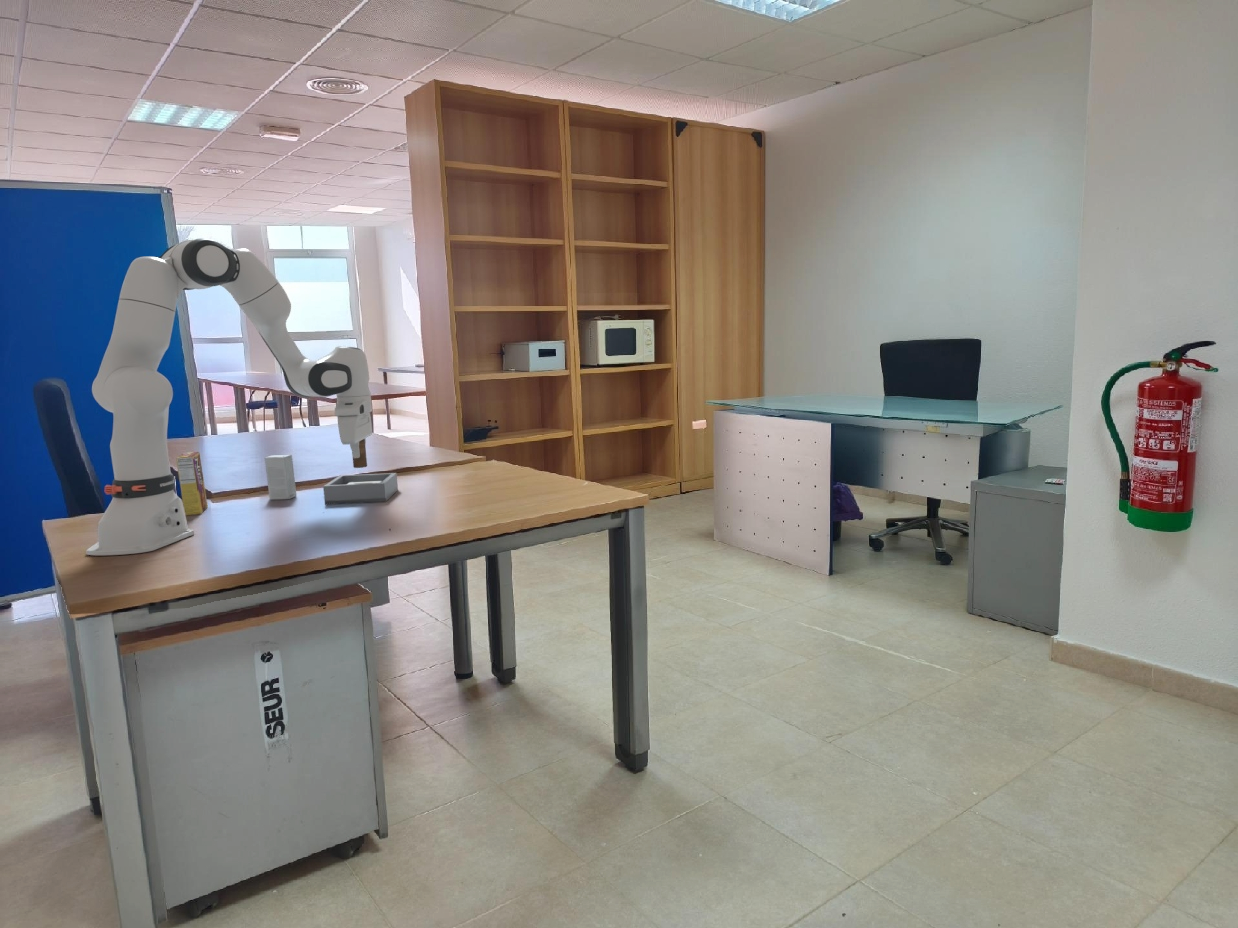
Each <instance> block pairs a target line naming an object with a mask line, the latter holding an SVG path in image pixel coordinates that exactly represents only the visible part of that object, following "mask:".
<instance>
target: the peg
mask: <svg viewBox="0 0 1238 928" xmlns="http://www.w3.org/2000/svg"><path fill="white" fill-rule="evenodd" d="M359 450H360V452H361V456H360V457H359V458H353V453H352V452H351V453H352V454H351V455H352V466H353V468H354V469H359V468H361V469H362V468H363V469H364V468H367V467H368V462H367V461H368V460H367V459H368V458H367V450H366V444H365V439H363V440H361V441H359Z"/></svg>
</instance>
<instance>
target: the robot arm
mask: <svg viewBox="0 0 1238 928" xmlns="http://www.w3.org/2000/svg"><path fill="white" fill-rule="evenodd" d="M217 286H219V287H222V288H224V289H225V290H226V291H227V292H228V293H229V294H230V295H231V296H232V298H233V299H234V301H235V302H236V303H237V305H238V307H239V308H240V309H241V310H242V311H243V313H244V314H245V316H246V317H247V318H248V319H249V320H250V322H251V323H252V325H253V326H254V327H255V329H256V330H257V332H258V333H259V335H260V337H261V339H262V340H263V341H264V343H265V345H266V346H267V348H268V349H269V351H270V353H271V354H272V355H273V357H274V358H275V360H276V362H277V363H278V365H279V366H280V368H281V371H282V374H283V378H284V381H285V385H286V387H287V388H288V390H289V391H290V392H291V393H292V394H293V395H295V396H297V397H300V398H311V397H314V398H328V397H332V396H335V395H336V406H335V407H334V416H335V417H337V426H338V433H339V439H340V443H341V444H342V445H349V447H350V450H351V453H353V456H352V459H353V458H359V457H360V456H361V452H360V450H359V441H361V440H363V439H365V445H366V443H367V442H366V441H367V440H366V438H369V437H370V436H372V435H373V424H372V417H371V412H373V406H372V405H373V404H372V395H371V391H370V388H369V384H370V383H369V381H370V372H369V365H368V360H367V357H366V354H365V351H364V350H363V349H361V348H358V347H355V346H346V345H343V346H341V345H338V346H336V347H335V348H334V349H333V350H332V351H331V352H329V353H328V354H327V355H325V356H323V357H320V358H319V359H317V360H316V359H315V360H312V359H310V358H308V357H306V356H305V355H303V353H302V352H301V350H300V348H299V347H298V345H297V344H296V342H295V340H294V339H293V337H292V336H291V335H290V333H289V332H288V329H287V320H288V318H289V316H290V314H291V312H292V303H291V301H290V299H289V297H288V294H287V292H286V290H285V289H284V287H283V286H282V284H281V283H280V281H278V279H277V278H276V276H275V275H274V273H273V272H272V271H271V270H270V269H269V267H267V265H266V264H265V263H264V262H263V261H262V260H261V258H260V257H258V256H257V255H256V254H255V253H254V252H253V251H252V250H250V249H248V248H236V249H235V248H234V249H230V248H228V247H226V246H225V245H223V244H222V243H220V242H218V241H216V240H213V239H210V238H196V239H187V240H184V241H183V240H182V241H181V242H179V243H177V244H174V245H172V246H170V247H168V248H166V250H165V251H164V252H163V253H162V254H161V255H160V256H159V257H156V256H150V255H149V256H140V257H136V258H135V259H134V260H132V262H131V263H130V265H129V266H128V269H127V271H126V274H125V277H124V280H123V283H122V286H121V289H120V292H119V297H118V303H117V306H116V313H115V318H114V324H113V329H112V332H111V336H110V340H109V342H108V345H107V347H106V350H105V353H104V354H103V358H102V360H101V364H100V365H99V370H98V372H97V375H96V377H95V378H94V380H93V382H92V386H91V393H92V396H93V398H94V400H95V401H96V403H98V405H99V406H100V407H101V408H103V409H104V410H105V411H107V412H110V413H112V415H113V420H112V421H113V423H112V435H111V440H110V444H109V449H110V456H111V457H110V458H111V464H112V470H113V477H114V479H113V480H112V485H110V484H106V485H105V486H104V493H105V495H111V497H112V499H111V501H110V503H109V505H108V507H107V508H106V509H105V511H104V513H103V515H102V516H101V518H100V520H98V521H99V522H98V523H97V530H96V531H97V533H96V534H97V542H95V544H93V545H92V546H90V547H89V548H87V549H86V550H85V551H86V554H85V555H87V556H89V555H90V556H119V555H130V554H131V555H132V554H141V553H148V552H153V551H156V550H158V549H161V548H163V547H166V546H168V545H170V544H173V543H176V542H178V541H181V540H184V539H185V538H186V539H187V538H188V537H190V536H193V535H195V531H194V528H193V529H192V528H189V526H188V521H187V517H186V516H187V515H185V511H184V507H183V501H182V498H180V497H179V496H178V494H176V492H175V489H176V485H175V484H176V483H175V482H176V481H175V477H174V474H173V473H172V472H171V464H170V457H169V448H168V426H169V425H168V424H169V411H170V409H169V408H170V404H171V403H172V400H173V397H174V391H173V387H172V383H171V382H170V381H169V380H168V378H167V377H166V376H165V375H163V374H162V373H160V372H159V371H158V368H159V365H160V363H161V362H162V359H163V357H164V355H165V353H166V351H167V350H168V349H169V347H170V344H171V338H172V333H173V327H174V322H175V316H176V309H177V305H178V304H177V303H178V299H179V297H180V295H181V292H182V291H190V290H205V289H209V288H212V287H217Z"/></svg>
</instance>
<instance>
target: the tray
mask: <svg viewBox="0 0 1238 928" xmlns="http://www.w3.org/2000/svg"><path fill="white" fill-rule="evenodd" d="M322 488H323V498H324V505H326V504H327V505H337V504H336V503H348V504H362V503H361V502H369V503H383V502H382V501H386V502H387V501H389V499H390V498H391V497H393V495H394V494H396V492H398V490H399V488H398V474H397V472H389V473H365V474H344V475H341V474H340V475H338V476H337V477H335V478H334V479H332V480H330V481H329V482H327V483H326V484H324V485H323V487H322Z"/></svg>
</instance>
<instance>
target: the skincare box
mask: <svg viewBox="0 0 1238 928" xmlns="http://www.w3.org/2000/svg"><path fill="white" fill-rule="evenodd" d="M293 462H294V461H293V454H278V455H277V454H275V455H274V454H273V455H269V456H266V457H264V463H265V464H264V465H265V470H266V471H265V472H266V479H267V489H268V498H269V500H270V501H271V500H290V499H293V498H295V497H297V487H296V480H295V471H294V463H293Z"/></svg>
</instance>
